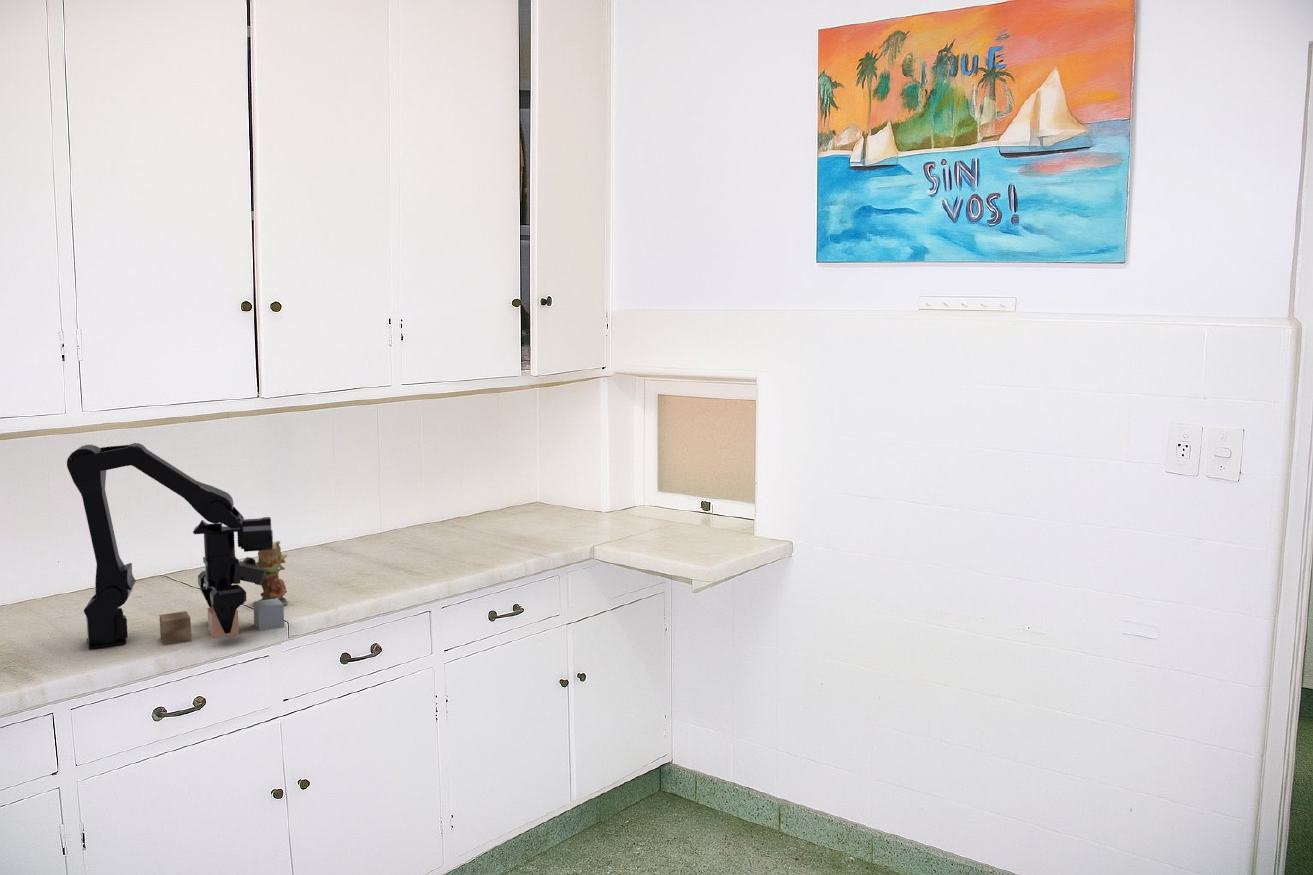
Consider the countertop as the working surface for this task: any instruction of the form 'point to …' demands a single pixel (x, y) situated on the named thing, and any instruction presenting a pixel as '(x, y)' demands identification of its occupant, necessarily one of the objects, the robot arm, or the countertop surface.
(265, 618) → the slate cube
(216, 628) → the terracotta cube
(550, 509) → the countertop surface
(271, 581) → the figurine
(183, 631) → the walnut cube
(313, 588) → the countertop surface
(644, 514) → the countertop surface
